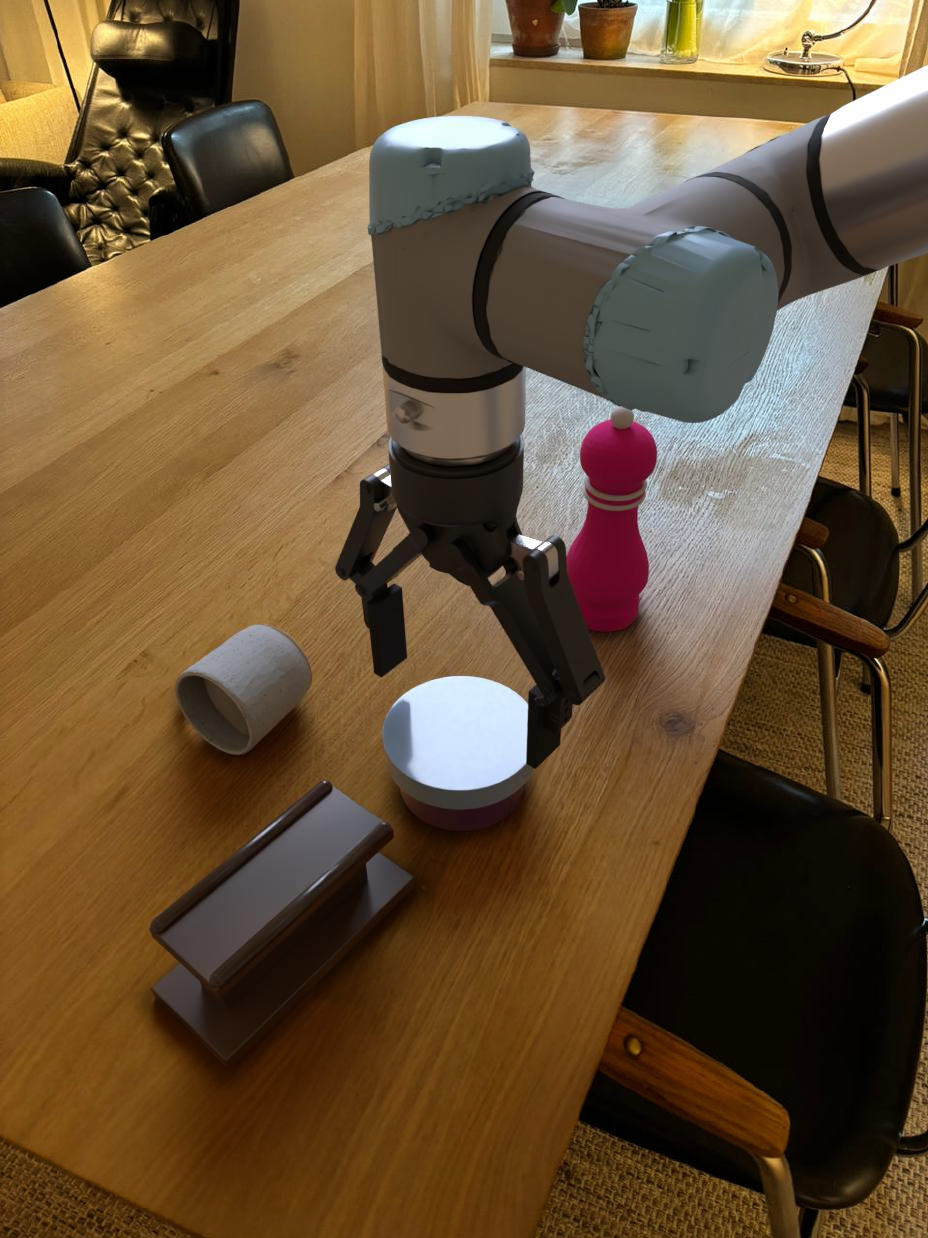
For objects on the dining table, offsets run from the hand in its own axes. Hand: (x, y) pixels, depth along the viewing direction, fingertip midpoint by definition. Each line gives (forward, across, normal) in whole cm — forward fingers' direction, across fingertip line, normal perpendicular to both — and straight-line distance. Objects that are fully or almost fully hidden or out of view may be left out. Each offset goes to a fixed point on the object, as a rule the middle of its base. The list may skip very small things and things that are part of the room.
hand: (463, 708), depth 68 cm
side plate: (+4, 0, 0) cm, 4 cm away
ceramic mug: (+8, -18, -6) cm, 21 cm away
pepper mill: (+8, -3, +23) cm, 25 cm away
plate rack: (+8, 0, -17) cm, 19 cm away
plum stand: (+8, 0, 0) cm, 8 cm away
